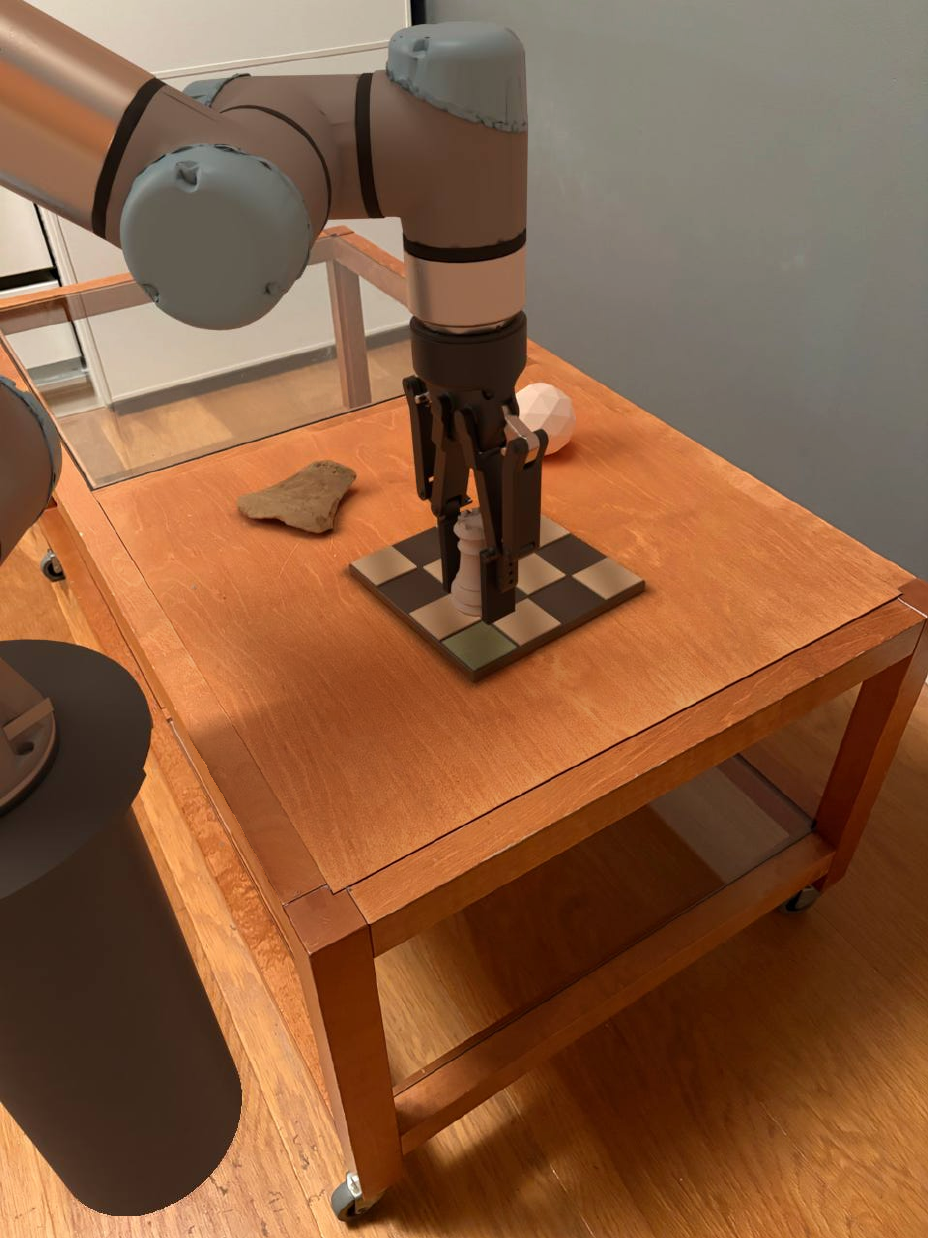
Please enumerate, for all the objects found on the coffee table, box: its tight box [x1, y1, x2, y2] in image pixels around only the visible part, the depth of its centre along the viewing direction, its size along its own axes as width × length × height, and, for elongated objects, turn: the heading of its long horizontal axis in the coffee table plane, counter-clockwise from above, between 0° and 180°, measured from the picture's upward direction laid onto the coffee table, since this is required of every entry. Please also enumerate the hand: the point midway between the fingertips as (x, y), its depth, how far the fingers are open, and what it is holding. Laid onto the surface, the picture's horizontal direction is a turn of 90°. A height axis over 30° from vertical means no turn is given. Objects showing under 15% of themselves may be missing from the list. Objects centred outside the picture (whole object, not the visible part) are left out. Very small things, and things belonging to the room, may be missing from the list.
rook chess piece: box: [451, 507, 487, 617], centre depth 72 cm, size 4×4×8 cm
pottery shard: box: [236, 459, 358, 534], centre depth 96 cm, size 11×4×10 cm
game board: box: [348, 506, 646, 683], centre depth 86 cm, size 19×19×1 cm
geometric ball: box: [515, 382, 578, 457], centre depth 102 cm, size 8×8×8 cm
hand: (478, 599), depth 75 cm, fingers closed on rook chess piece, 4 cm apart
